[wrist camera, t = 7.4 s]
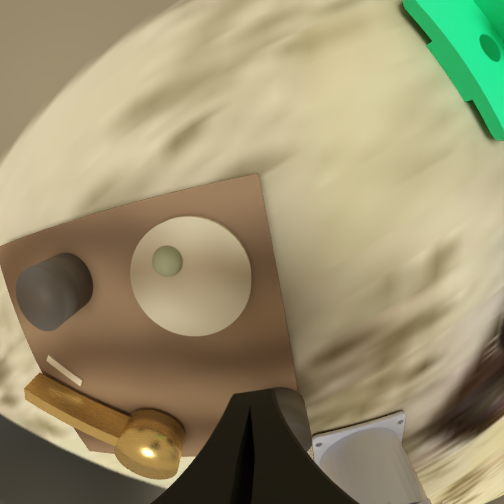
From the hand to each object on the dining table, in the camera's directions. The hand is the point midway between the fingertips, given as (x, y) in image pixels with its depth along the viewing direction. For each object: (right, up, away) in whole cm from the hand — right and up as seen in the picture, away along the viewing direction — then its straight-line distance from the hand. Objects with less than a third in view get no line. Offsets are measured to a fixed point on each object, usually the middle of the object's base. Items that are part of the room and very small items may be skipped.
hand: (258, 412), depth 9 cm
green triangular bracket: (+16, +20, +6) cm, 26 cm away
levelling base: (-7, -1, +10) cm, 12 cm away
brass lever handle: (-11, -6, +9) cm, 16 cm away
